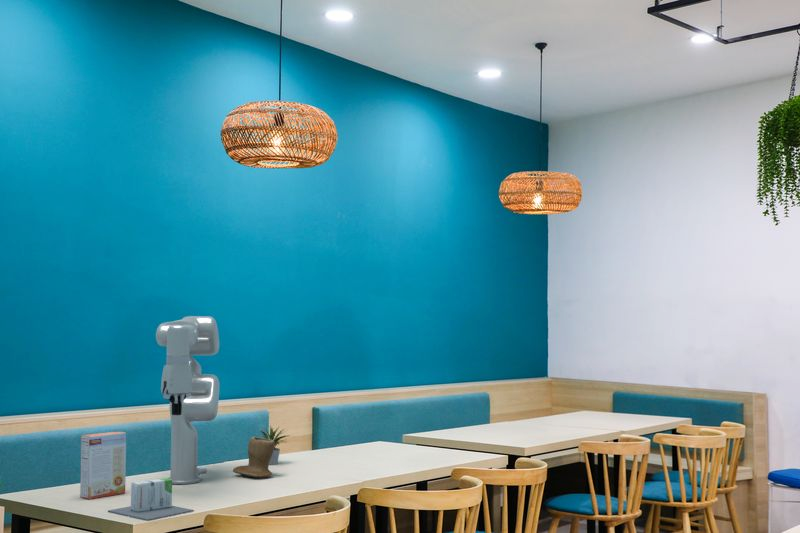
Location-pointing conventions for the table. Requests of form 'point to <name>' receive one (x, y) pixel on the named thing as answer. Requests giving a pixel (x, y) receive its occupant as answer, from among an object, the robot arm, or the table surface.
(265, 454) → the brown suede boot shape
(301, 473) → the table surface
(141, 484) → the ink box
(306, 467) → the table surface
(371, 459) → the table surface
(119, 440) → the cracker box
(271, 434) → the house plant
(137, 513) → the mat
